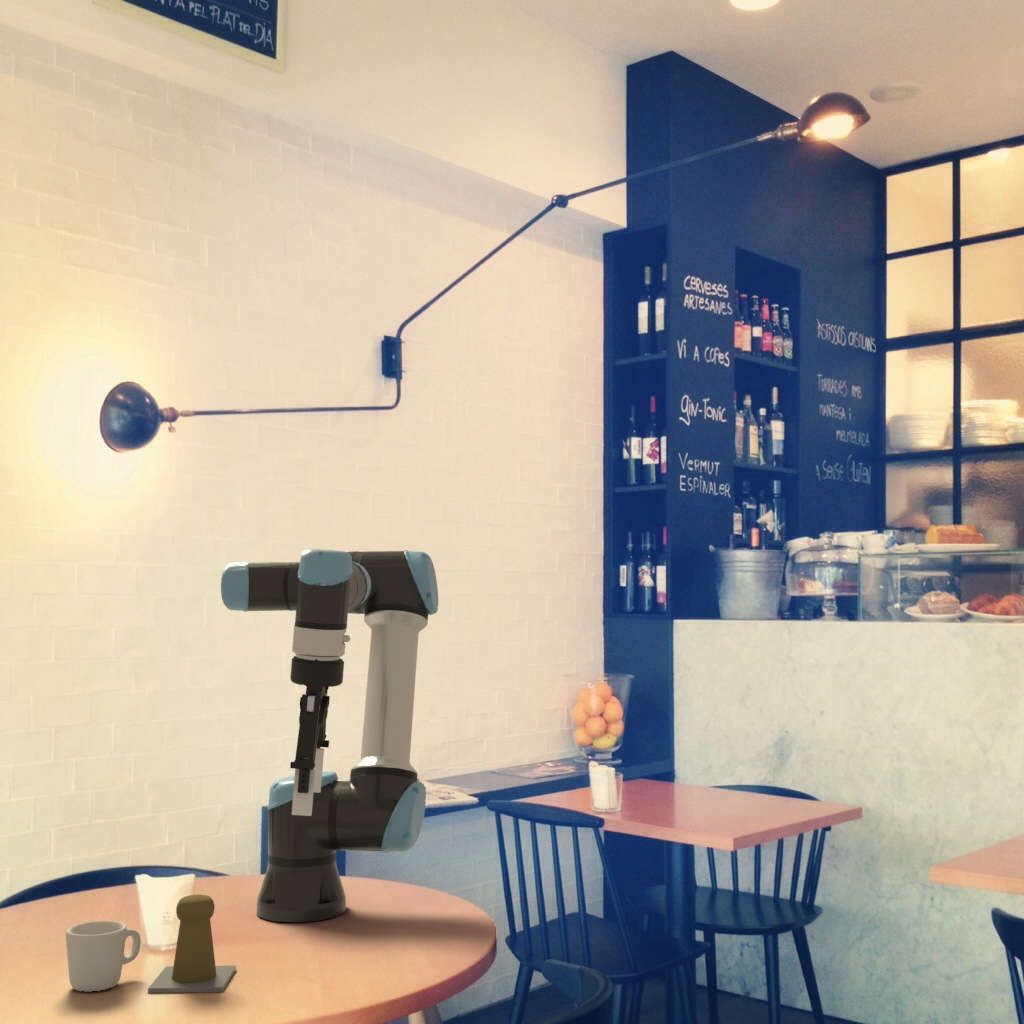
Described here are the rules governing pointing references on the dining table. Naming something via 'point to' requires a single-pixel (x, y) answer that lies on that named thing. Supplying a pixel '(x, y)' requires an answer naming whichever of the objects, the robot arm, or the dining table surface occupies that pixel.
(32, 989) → the dining table surface
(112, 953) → the cup
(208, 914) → the pepper mill
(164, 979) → the coaster
